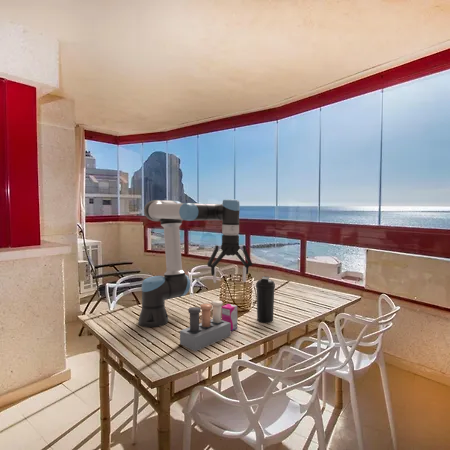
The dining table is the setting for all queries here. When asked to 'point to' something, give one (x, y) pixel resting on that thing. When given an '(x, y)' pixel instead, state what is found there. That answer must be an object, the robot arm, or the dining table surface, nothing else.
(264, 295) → the water bottle
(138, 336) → the dining table surface
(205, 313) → the terracotta plug
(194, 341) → the socket block
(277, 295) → the dining table surface
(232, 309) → the supplement box
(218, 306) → the cream plug
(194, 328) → the black plug
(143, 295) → the robot arm
